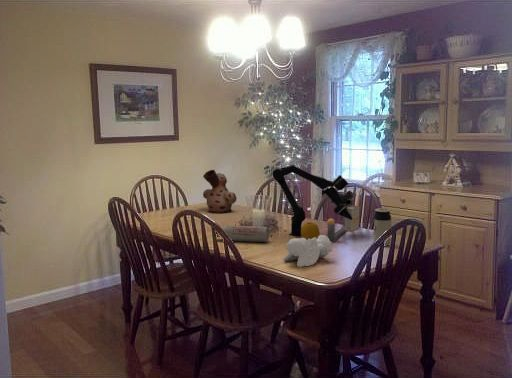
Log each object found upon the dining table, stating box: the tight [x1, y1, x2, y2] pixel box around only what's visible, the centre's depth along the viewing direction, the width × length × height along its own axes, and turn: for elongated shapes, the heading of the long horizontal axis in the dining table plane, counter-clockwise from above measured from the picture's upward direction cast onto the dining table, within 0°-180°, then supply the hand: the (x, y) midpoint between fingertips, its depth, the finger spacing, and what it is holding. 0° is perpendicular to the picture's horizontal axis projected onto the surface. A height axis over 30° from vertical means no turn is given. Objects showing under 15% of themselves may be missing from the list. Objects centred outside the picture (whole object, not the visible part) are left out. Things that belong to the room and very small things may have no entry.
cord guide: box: [326, 216, 347, 243], centre depth 266 cm, size 34×4×12 cm, turn 154°
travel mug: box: [373, 207, 392, 247], centre depth 243 cm, size 8×8×18 cm
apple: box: [300, 221, 321, 240], centre depth 248 cm, size 10×10×12 cm
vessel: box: [202, 169, 238, 214], centre depth 337 cm, size 29×22×30 cm
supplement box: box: [345, 204, 360, 233], centre depth 263 cm, size 8×5×13 cm, turn 142°
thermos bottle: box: [215, 225, 270, 243], centre depth 258 cm, size 8×8×28 cm
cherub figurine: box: [282, 234, 333, 268], centre depth 218 cm, size 13×12×20 cm
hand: (354, 217), depth 262 cm, fingers closed on supplement box, 9 cm apart
